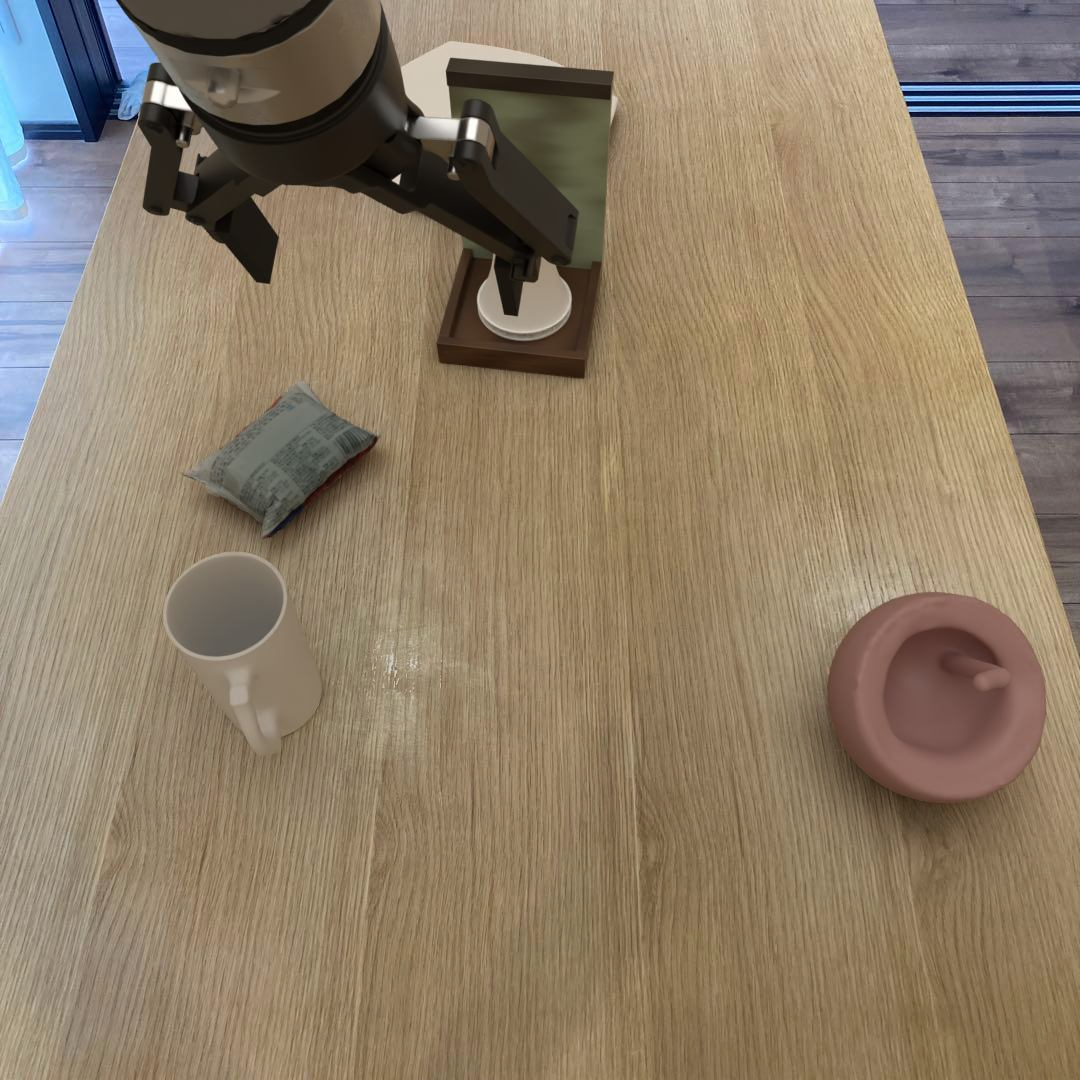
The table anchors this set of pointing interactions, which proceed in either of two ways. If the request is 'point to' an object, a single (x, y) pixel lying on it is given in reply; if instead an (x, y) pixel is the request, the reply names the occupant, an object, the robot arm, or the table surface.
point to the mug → (245, 645)
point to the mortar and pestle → (938, 697)
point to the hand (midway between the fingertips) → (390, 275)
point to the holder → (573, 168)
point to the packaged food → (284, 459)
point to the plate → (429, 74)
